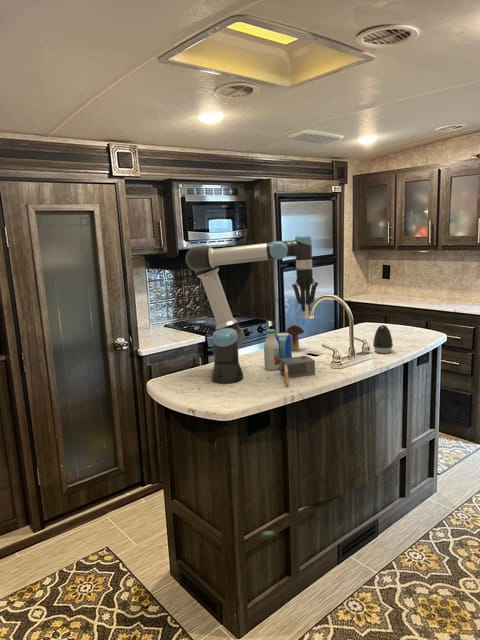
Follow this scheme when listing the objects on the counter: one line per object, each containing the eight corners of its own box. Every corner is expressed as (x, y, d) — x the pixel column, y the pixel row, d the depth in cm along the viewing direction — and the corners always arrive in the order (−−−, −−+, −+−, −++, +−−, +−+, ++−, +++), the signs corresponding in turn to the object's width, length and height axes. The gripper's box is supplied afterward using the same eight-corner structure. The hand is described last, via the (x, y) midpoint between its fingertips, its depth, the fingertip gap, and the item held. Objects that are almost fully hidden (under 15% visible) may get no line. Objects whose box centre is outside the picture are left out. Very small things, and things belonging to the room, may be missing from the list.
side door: (283, 377, 218) (283, 364, 217) (287, 377, 218) (286, 363, 217) (285, 385, 206) (284, 371, 205) (288, 385, 206) (288, 371, 205)
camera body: (284, 378, 219) (283, 362, 217) (277, 372, 228) (277, 357, 227) (315, 374, 222) (314, 358, 221) (307, 369, 232) (306, 354, 230)
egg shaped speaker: (372, 354, 253) (372, 326, 250) (374, 349, 262) (374, 323, 260) (391, 355, 249) (392, 327, 246) (393, 350, 258) (393, 323, 256)
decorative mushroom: (291, 354, 262) (291, 327, 260) (282, 350, 272) (281, 324, 269) (308, 351, 267) (307, 325, 264) (298, 347, 277) (297, 322, 274)
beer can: (291, 366, 238) (290, 335, 235) (275, 366, 240) (273, 335, 237) (292, 361, 246) (291, 332, 243) (277, 361, 248) (275, 332, 245)
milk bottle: (269, 371, 231) (268, 332, 228) (261, 368, 238) (260, 329, 235) (282, 368, 235) (281, 329, 231) (274, 365, 242) (273, 327, 238)
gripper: (294, 270, 215) (296, 320, 219) (320, 267, 218) (321, 317, 223) (288, 269, 222) (290, 318, 226) (313, 267, 225) (314, 315, 230)
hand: (306, 317), depth 224 cm, fingers closed
